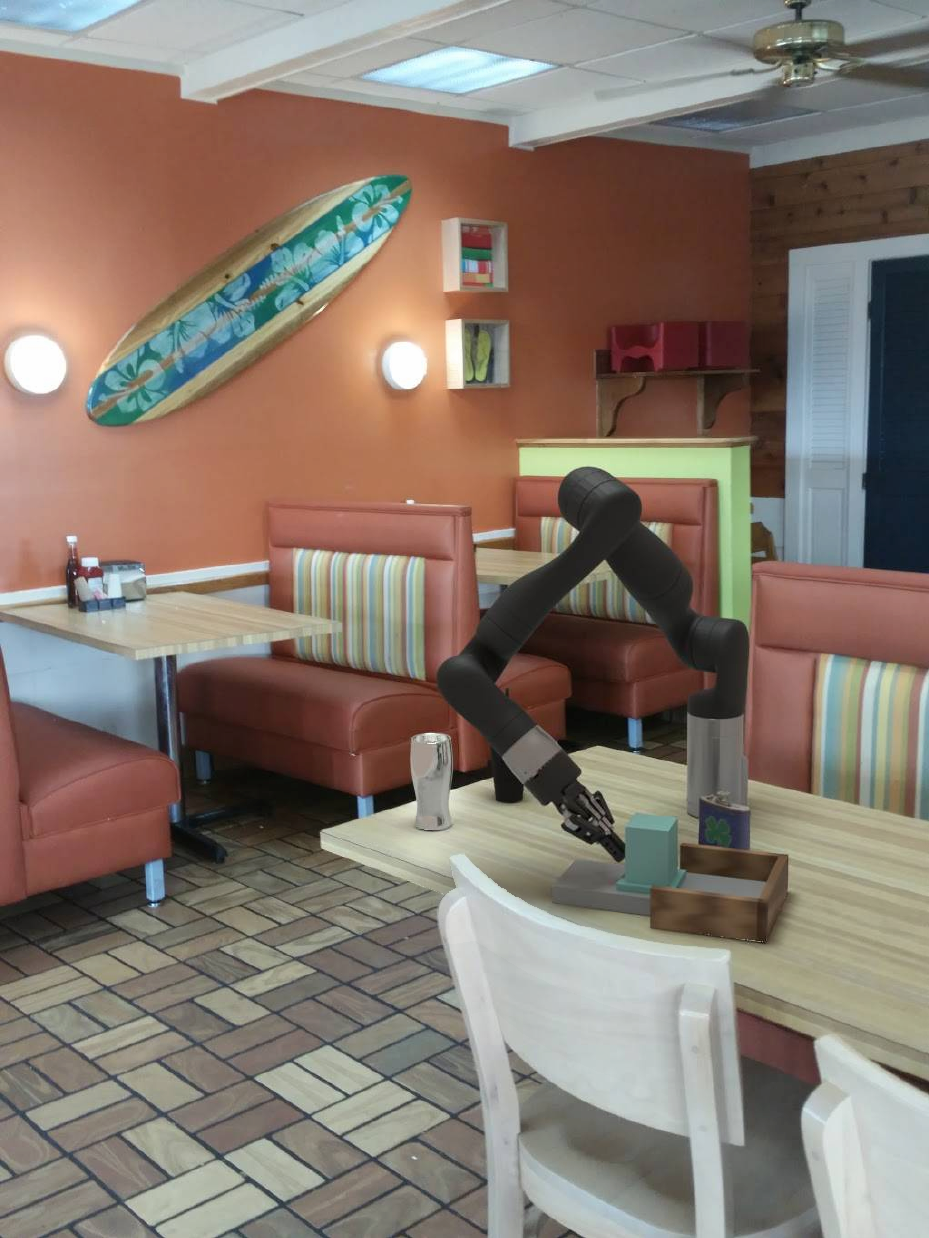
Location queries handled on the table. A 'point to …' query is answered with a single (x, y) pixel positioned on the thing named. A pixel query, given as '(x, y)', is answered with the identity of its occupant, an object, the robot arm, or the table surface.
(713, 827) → the flask
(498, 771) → the drinking cup
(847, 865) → the table surface
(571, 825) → the robot arm
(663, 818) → the teal block
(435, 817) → the beer glass
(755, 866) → the box
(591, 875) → the board
